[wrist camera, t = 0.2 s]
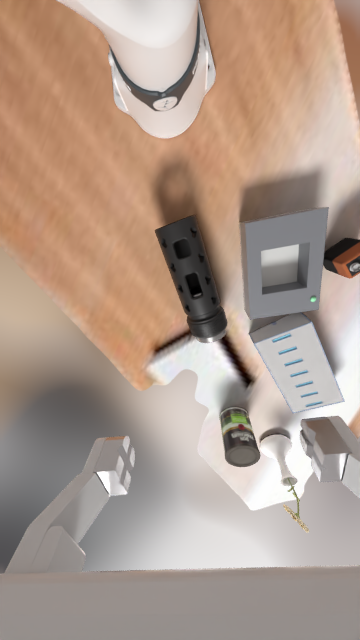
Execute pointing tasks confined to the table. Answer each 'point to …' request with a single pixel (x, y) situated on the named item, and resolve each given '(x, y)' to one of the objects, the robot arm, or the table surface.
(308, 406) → the white slatted block
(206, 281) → the muzzle brake
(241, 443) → the coffee can
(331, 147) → the table surface
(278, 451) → the flower in vase
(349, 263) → the battery
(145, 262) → the table surface
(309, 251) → the dock
